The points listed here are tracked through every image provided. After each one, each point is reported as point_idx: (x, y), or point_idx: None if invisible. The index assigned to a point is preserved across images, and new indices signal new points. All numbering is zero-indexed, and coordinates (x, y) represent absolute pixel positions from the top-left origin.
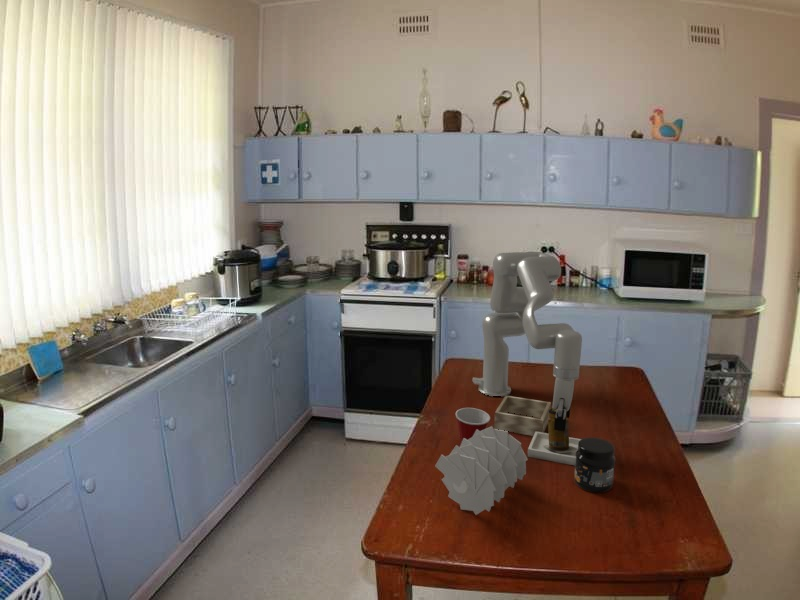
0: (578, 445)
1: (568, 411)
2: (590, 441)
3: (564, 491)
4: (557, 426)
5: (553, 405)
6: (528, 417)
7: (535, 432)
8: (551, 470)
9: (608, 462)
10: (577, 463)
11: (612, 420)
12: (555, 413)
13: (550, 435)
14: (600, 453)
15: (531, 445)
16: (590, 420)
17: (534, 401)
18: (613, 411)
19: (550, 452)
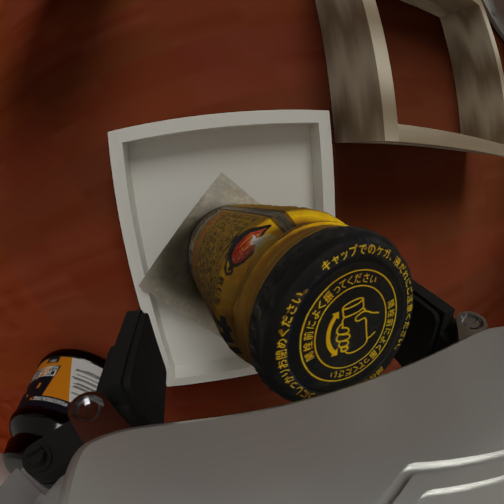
0: (12, 450)
1: (397, 354)
2: None
3: (5, 329)
4: (109, 357)
5: (60, 499)
6: (382, 58)
7: (317, 112)
8: (69, 264)
9: None
10: (20, 402)
11: (474, 312)
12: (252, 343)
13: (208, 231)
14: None
15: (154, 132)
16: (474, 268)
17: (501, 95)
18: (501, 297)
19: (132, 244)
